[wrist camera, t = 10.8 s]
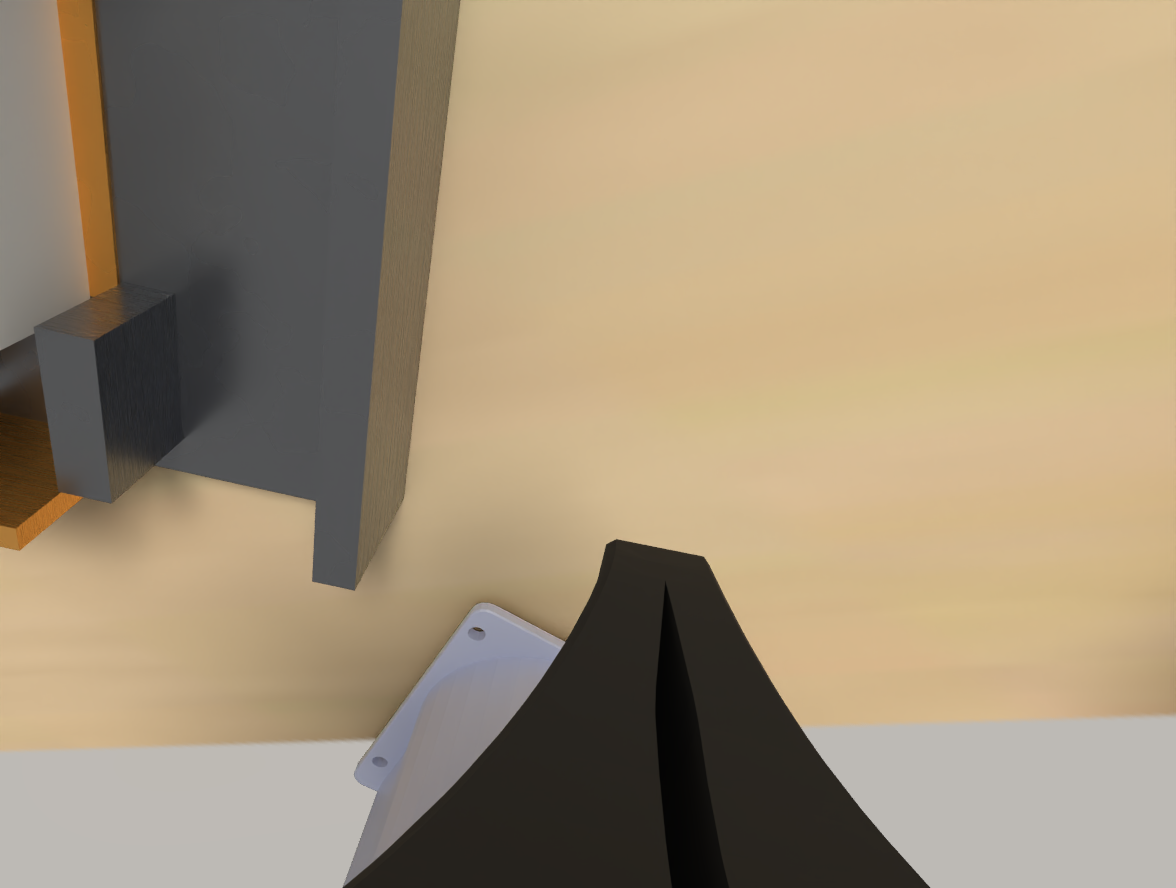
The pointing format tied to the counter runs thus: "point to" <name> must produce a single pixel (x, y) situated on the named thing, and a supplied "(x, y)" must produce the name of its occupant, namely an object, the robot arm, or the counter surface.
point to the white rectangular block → (36, 175)
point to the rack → (240, 260)
